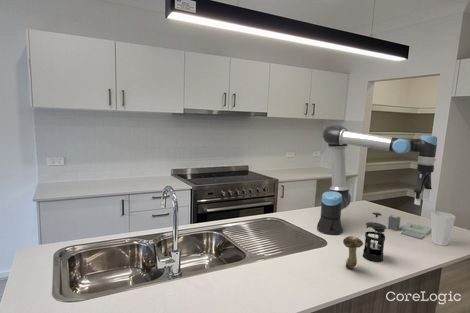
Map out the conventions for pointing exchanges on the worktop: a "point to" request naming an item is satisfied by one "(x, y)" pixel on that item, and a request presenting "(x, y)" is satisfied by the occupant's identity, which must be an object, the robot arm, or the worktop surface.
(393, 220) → the block
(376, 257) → the french press
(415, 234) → the phone
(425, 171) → the robot arm
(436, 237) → the cup
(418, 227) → the outlet plate
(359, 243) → the mushroom
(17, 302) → the worktop surface
